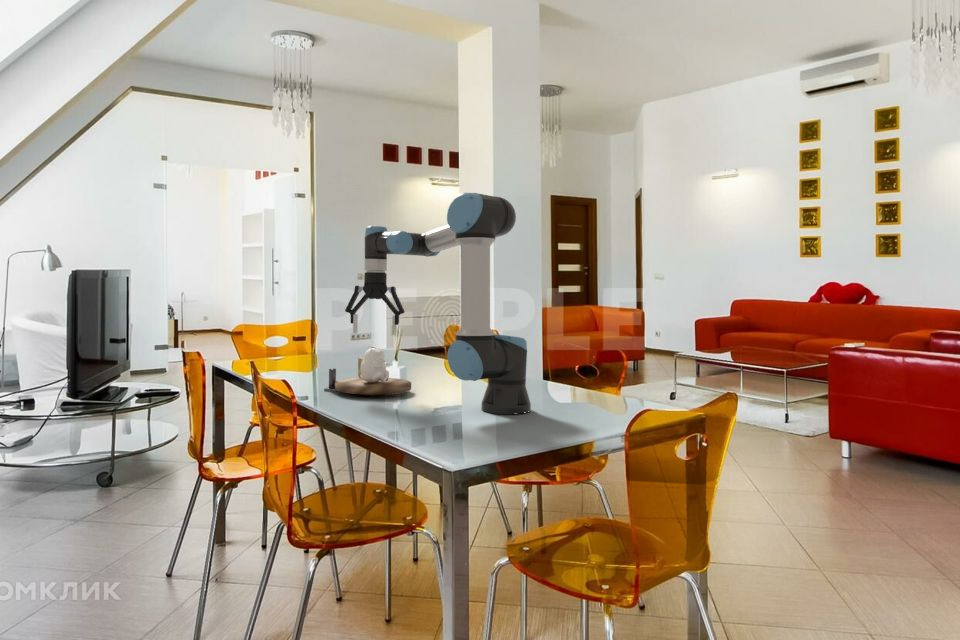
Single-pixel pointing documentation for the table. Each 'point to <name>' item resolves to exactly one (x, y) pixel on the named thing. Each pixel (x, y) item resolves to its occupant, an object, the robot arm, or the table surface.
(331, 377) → the base
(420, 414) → the table surface
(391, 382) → the turntable
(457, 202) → the robot arm
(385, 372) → the figurine
